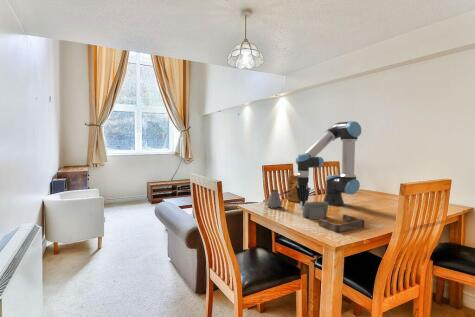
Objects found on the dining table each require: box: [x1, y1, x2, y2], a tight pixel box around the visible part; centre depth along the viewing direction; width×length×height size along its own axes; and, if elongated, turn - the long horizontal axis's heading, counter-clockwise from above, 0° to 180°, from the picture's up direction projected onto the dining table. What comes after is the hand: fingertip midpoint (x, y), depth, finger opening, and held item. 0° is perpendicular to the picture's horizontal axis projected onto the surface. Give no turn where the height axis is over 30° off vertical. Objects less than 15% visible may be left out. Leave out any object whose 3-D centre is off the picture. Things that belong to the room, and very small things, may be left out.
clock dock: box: [318, 214, 365, 234], centre depth 149 cm, size 14×22×4 cm, turn 118°
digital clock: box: [302, 201, 329, 220], centre depth 167 cm, size 16×9×11 cm, turn 83°
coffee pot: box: [266, 189, 293, 209], centre depth 191 cm, size 21×12×15 cm, turn 46°
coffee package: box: [286, 174, 300, 203], centre depth 216 cm, size 10×12×22 cm
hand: (302, 210), depth 178 cm, fingers closed
